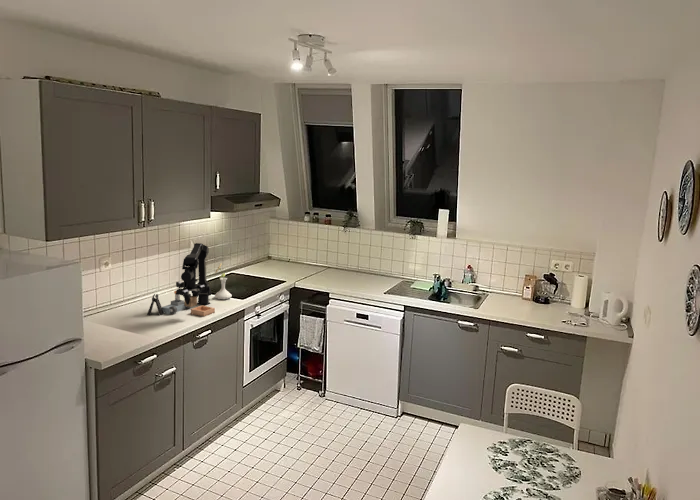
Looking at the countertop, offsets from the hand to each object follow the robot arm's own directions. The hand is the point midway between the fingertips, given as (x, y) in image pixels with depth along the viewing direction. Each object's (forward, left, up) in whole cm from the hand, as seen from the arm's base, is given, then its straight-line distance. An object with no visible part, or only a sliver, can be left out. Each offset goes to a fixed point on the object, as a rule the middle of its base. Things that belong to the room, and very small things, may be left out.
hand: (190, 303), depth 323 cm
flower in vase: (-45, -12, -9) cm, 48 cm away
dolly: (-7, -17, -9) cm, 21 cm away
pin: (-9, -19, -6) cm, 21 cm away
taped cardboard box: (0, 0, -1) cm, 1 cm away
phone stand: (+5, -23, -10) cm, 25 cm away
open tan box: (-12, -1, -9) cm, 15 cm away
